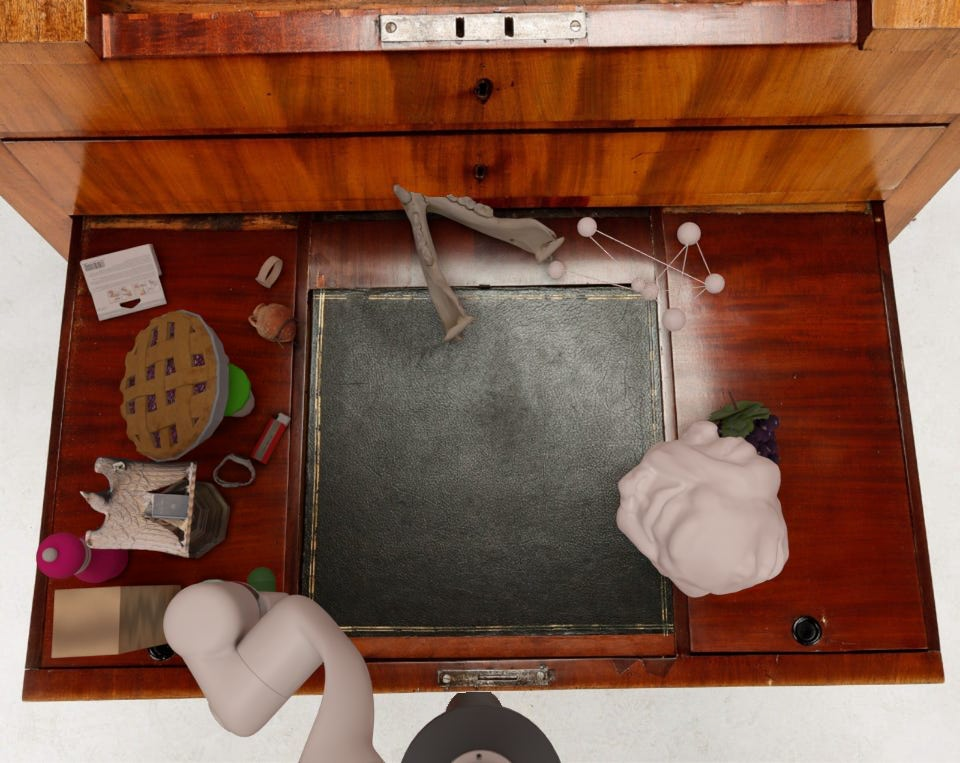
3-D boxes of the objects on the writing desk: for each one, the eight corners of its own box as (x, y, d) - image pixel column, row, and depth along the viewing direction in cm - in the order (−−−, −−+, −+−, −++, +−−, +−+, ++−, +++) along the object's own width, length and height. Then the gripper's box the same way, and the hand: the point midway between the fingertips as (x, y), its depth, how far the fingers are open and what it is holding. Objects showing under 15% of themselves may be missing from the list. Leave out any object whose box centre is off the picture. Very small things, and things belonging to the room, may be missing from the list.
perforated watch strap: (259, 284, 143) (251, 274, 138) (275, 260, 144) (268, 249, 139) (273, 292, 142) (266, 282, 137) (289, 268, 143) (283, 257, 138)
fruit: (808, 470, 131) (776, 378, 129) (748, 500, 130) (714, 407, 127) (771, 459, 141) (740, 373, 139) (714, 487, 140) (682, 400, 137)
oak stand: (180, 640, 131) (118, 654, 107) (125, 643, 130) (51, 658, 107) (181, 584, 132) (120, 586, 109) (127, 587, 132) (54, 589, 109)
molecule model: (677, 246, 151) (705, 341, 145) (539, 253, 145) (562, 353, 139) (715, 199, 139) (748, 302, 133) (565, 205, 132) (592, 313, 126)
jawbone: (458, 144, 146) (461, 107, 131) (563, 251, 145) (578, 226, 130) (347, 246, 144) (336, 221, 129) (453, 356, 143) (455, 344, 128)
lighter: (267, 465, 136) (292, 418, 138) (264, 463, 135) (290, 417, 137) (251, 457, 137) (276, 411, 138) (248, 455, 135) (274, 409, 137)
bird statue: (268, 476, 136) (203, 442, 102) (256, 563, 133) (184, 558, 99) (161, 466, 136) (59, 428, 102) (146, 553, 133) (36, 544, 99)
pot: (316, 326, 140) (289, 356, 141) (280, 292, 141) (255, 322, 142) (302, 324, 134) (275, 355, 135) (265, 289, 135) (238, 320, 136)
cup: (260, 373, 139) (237, 349, 125) (269, 421, 138) (246, 403, 123) (211, 384, 139) (181, 361, 124) (219, 432, 137) (189, 415, 122)
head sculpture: (685, 650, 113) (562, 529, 129) (777, 625, 128) (656, 520, 144) (774, 498, 104) (630, 390, 121) (861, 491, 120) (723, 396, 136)
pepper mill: (139, 542, 133) (84, 536, 114) (120, 589, 132) (61, 591, 112) (94, 527, 134) (32, 518, 114) (75, 573, 132) (8, 573, 113)
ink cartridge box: (153, 243, 142) (171, 303, 143) (83, 260, 141) (102, 320, 143) (149, 243, 139) (167, 303, 141) (78, 260, 139) (97, 321, 140)
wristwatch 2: (254, 484, 133) (248, 451, 133) (213, 491, 133) (207, 458, 133) (259, 480, 137) (253, 448, 136) (220, 487, 137) (214, 455, 136)
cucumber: (278, 649, 115) (272, 652, 112) (250, 651, 115) (243, 654, 111) (277, 566, 117) (272, 566, 114) (250, 567, 117) (244, 567, 114)
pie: (228, 292, 127) (199, 285, 123) (245, 439, 121) (216, 437, 117) (136, 342, 138) (107, 337, 134) (148, 479, 132) (118, 478, 128)
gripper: (152, 655, 97) (199, 642, 115) (305, 647, 98) (328, 635, 115) (153, 585, 98) (200, 583, 116) (304, 577, 99) (327, 576, 117)
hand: (263, 609), depth 116 cm, fingers closed on cucumber, 3 cm apart
